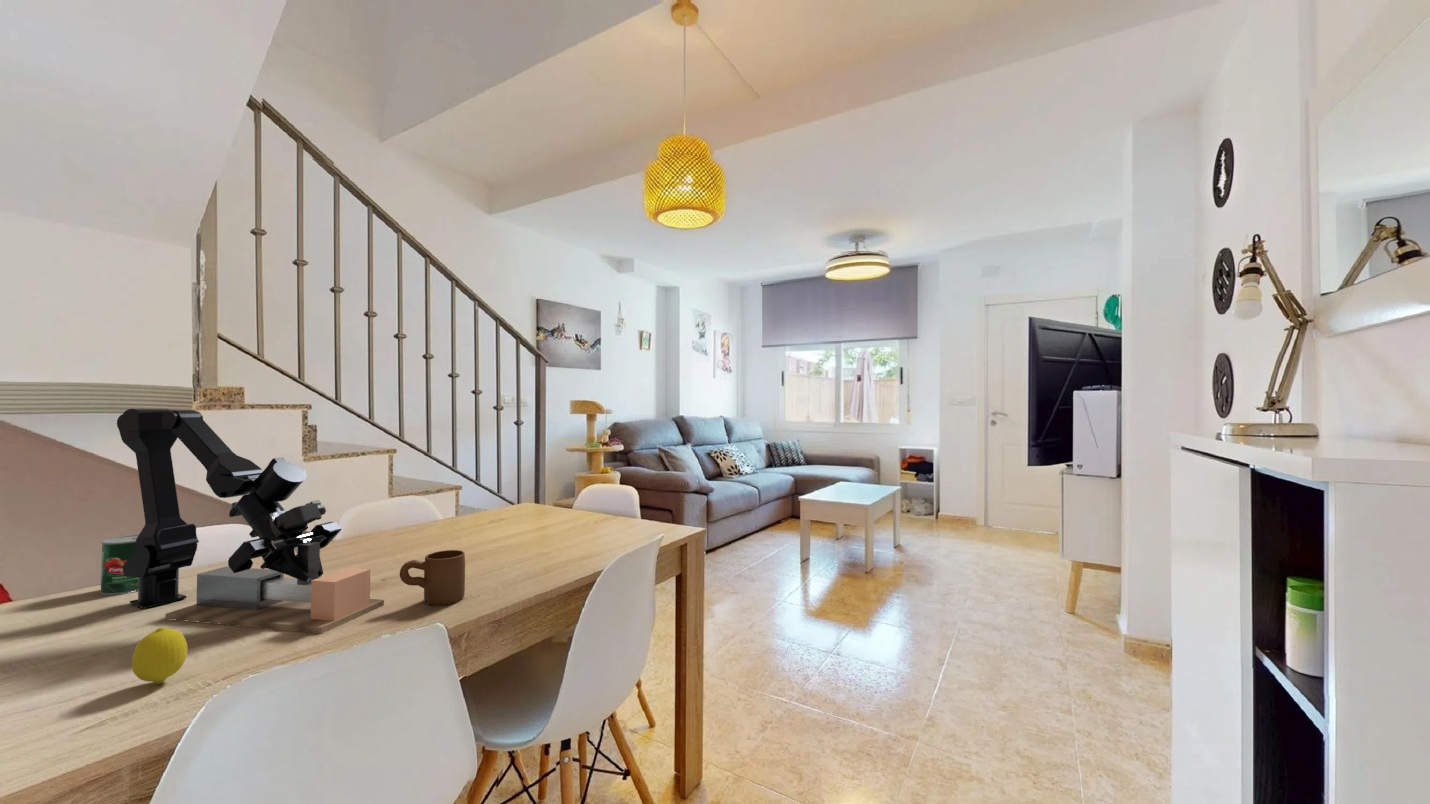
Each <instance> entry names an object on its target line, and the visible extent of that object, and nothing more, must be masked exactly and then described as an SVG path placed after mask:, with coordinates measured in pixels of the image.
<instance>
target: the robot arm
mask: <svg viewBox="0 0 1430 804" xmlns="http://www.w3.org/2000/svg"><path fill="white" fill-rule="evenodd" d="M116 425H117V426H116V427H117V429H118V432H119V434H120V438H121V441H122V443H124V445H126V447H128V449H130V450H131V451H132V452H133V453H134V454H135V457H136V459H135V460H136V465H137V473H138V478H139V479H138V480H139V488H140V493H141V495H140V496H141V501H142V509H143V514H144V515H143V516H144V521H145V522H144V526H143V528H142V529H141V531H140V533H139V534H138V535H139V536H138V537H137V539H136V551H135V552H134V553H133V555H132V556H131V557H130V558H129V559H128V560H127V561H126V563H125V564H124V565H123V566H122V568H123V572H124V576H126V577H138V591H137V599H134V600H129V604H130V605H133V606H136V607H138V608H141V609H147V608H151V606H152V607H156V606H159V604H160V605H163V604H168V603H172V602H177V601H181V600H184V598H185V599H187V595H185V594H181V593H180V592H179V582H180V581H179V579H180V569H181V568H185V567H191V566H192V564H193V561H194V558H195V555H196V552H197V551H198V544H199V542H200V541H199V539H198V536H197V526H196V524H194V523H187V522H186V521H185V520H184V519H182V517H181V514H180V506H179V500H178V499H179V498H178V492H177V486H176V478H175V471H174V465H173V457H172V450H171V449H172V447H173V446H174V444H175V443H176V441H177V439H179V441H180V442H181V443H182V444H183V445H184V446H185V448H187V449H188V451H189V452H191V454H192V455H193V456H194V457H195V458H196V459H197V460H198V461H199V462H200V463H201V465H202V466H203V467H204V469H205V470H206V477H205V481H206V482H207V484H208V486H209V488H210V489H211V491H212V492H213V493H214V494H215V496H217V498H220V499H222V498H223V499H228V498H235V497H241V498H239V499H238V500H237V501H236V502H232V503H231V508H230V510H229V513H228V516H229V517H230V518H234V517H239V516H242V518H243V519H244V520H245V522H246V523H247V524H248V525H249V527H250V528H251V529H252V530H251V531H250V532H249V533H248V535H249V536H250V537H251V538H255V539H251V540H247V541H243V542H242V544H240V545H239V547H238V548H237V549H236V550H235V551H234V552H233V553H232V555H230V556H229V557H228V560H227V561H228V562H227V567H230V568H231V570H232V571H233V572H234V573H237V572H241V571H244V570H248V569H250V568H253V567H252V566H253V564H254V561H253V559H257V558H260V557H261V558H262V560H263V563H262V564H261V565H260V569H269V570H274V571H277V572H280V573H283V574H284V575H286V576H289V577H290V578H297V579H299V580H302V581H304V582H306V581H308V580H309V579H310V576H309V574H308V572H307V571H306V569H305V568H304V566H303V565H302V564H301V562H300V561H299V560H298V545H299V544H303V543H307V542H320V550H321V549H324V548H325V547H327V546H328V545H329V544H331V542H332V541H333V540H334V539H335V538H336V537H337V535H338V534H339V533H340V532H341V531H342V527H341V526H340V525H339V524H338V522H336V521H328V522H324V523H320V524H315V526H314V527H313V528H312V529H311V530H310V531H309V533H306V534H304V533H303V532H305V531H307V530H308V529H309V528H310V525H309V524H311V523H312V522H315V521H316V520H317V521H318V520H321V519H322V516H323V515H325V514H326V512H327V511H326V510H327V509H326V507H325V505H324V504H323V503H322V502H321V501H320V500H319V499H317V500H311V501H310V502H307V503H305V504H304V505H299V506H295V507H292V508H290V509H285V508H284V507H283V506H282V505H281V504H280V502H284V501H286V500H288V499H289V498H290V497H291V495H292V494H293V493H295V491H296V490H297V489H298V488H299V487H300V486H301V485H302V483H303V482H304V481H305V480H306V479H307V476H308V475H307V471H306V470H305V469H304V468H303V467H302V466H299V464H296V463H294V462H291V461H287V460H286V459H285V458H284V457H275V458H272V459H271V460H270V461H269V463H268V465H267V466H266V467H265V468H264V469H262V467H260V466H259V465H258V464H256V463H254V462H253V461H252V460H250V459H248V458H245V457H242V456H240V455H237V454H236V453H235V452H234V451H232V449H231V448H230V447H229V446H228V445H227V444H226V443H225V442H224V441H223V440H222V439H221V438H220V436H219V435H218V434H217V433H216V432H215V431H214V430H213V429H212V427H211V426H209V424H208V423H207V422H206V421H205V420H204V417H203V414H202V413H201V412H200V411H197V410H193V409H172V410H171V409H169V408H128V409H126V410H125V411H124V412H123V413H122V414H120V415H118V418H117V420H116ZM295 552H296V553H297V554H295ZM323 574H324V569H323V566H322V561H321V559H320V569H319V578H320V577H323V576H324V575H323ZM155 605H156V606H155Z"/></svg>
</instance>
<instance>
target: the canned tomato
mask: <svg viewBox="0 0 1430 804" xmlns="http://www.w3.org/2000/svg"><path fill="white" fill-rule="evenodd" d="M138 536H139V534H130V535H122V536H117V537H113V538H111V537H110V538H108V539H104V540H102V541H101V564H100V565H101V572H100V592H99V593H100V595H101V596H117V595H116V594H119V595H124V594H123V593H126V594H129V593H128V592H131V591H135V590H138V577H126V576H124V572H123V568H122V566H123V565H124V564H125V563H126V561H127V560H128V559H129V558H130V557H131V556H132V555H133V553H134V552H135V551H136V539H137V537H138Z"/></svg>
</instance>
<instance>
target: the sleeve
mask: <svg viewBox="0 0 1430 804" xmlns="http://www.w3.org/2000/svg"><path fill="white" fill-rule="evenodd" d="M284 575H285V574H283V573H280V572H277V571H274V570H271V569H267V568H265V569H262V568H253V567H251V568H250V569H248V570H244V571H241V572H237V573H234V572H233V571H232V570H231V568H230V567H229V566H223V567H218V568H215V569H211V570H207V571H204V572H201V573H200V572H199V573H197V574H196V603H195V604H196V606H206V607H218V608H230V609H242V610H253V611H257V610H260V609H263V608H266V607H268V606H271V605H274V604H277V603H279V602H282V600H270V599H260V581H261V580H264V579H268V578H271V577H285V576H284Z"/></svg>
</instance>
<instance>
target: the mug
mask: <svg viewBox="0 0 1430 804" xmlns="http://www.w3.org/2000/svg"><path fill="white" fill-rule="evenodd" d="M465 555H466V554H465V552H464V551H463V550H457V549H455V550H454V549H449V550H448V549H447V550H439V551H433V552H431V553H428V554H426V556H425V557H424V561H422V560H417V559H413V560H409V561H407V562H404V564H402V566H401V567H400V570H399V578H400V580H401V582H403V584H405V585H408V586H413V587H414V586H418V587H420V588H422V589H423V600H424V601H423V602H424V603H425V604H426V605H428V606H433V605H440V606H447V604H448V605H451V604H452V605H453V604H455V603H458V602H459V601H462V599H463V598H464V597H465V591H466V586H465V585H466V584H465V583H466V557H465ZM410 569H417V570H422V571H423V576H411V575H410V573H409V570H410Z"/></svg>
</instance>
